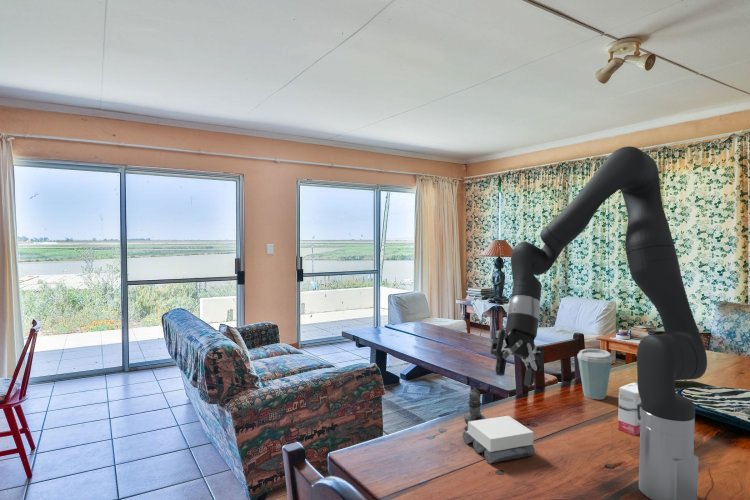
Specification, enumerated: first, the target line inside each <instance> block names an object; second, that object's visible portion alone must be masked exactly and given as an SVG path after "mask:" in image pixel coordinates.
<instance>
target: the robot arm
mask: <svg viewBox="0 0 750 500" xmlns="http://www.w3.org/2000/svg"><path fill="white" fill-rule="evenodd" d="M660 183H661V182H660V172H659V168H658V164H657V162H656V161H655V159H654V158H652V157H651V156H650V155H649V154H647V153H646V152H644V151H643V150H641V149H640V148H638V147H635V146H629V145H628V146H624V147H619V148H618V149H616V150H615V151H613V152H612V153H611V154H610V155H608V157H607V158H606V159H605V160H604V162H602V164H601V165H600V166H599V168H598V169H597V171H596V172H595V173H594V174H593V175H592V177H591V178H590V179H589V180H588V181H587V182H586V184H585V185H584V186H583V188H582V189H581V190H580V192H578V194H577V195H576V196H575V198H574V199H572V201H571V202H570V203H569V204H568V205H567V206H566V207H565V208H564V209H563V210H562V211H561V212H560V213H559V214H558V215H557V216H556V217H555V218H554V219H553V220H552V221H550V222H549V223H548V224H547V225H546V226H545V227H544V228H543V229H542V230H541V231H540V234H539V237H540V239H541V241H542V242H543V244H544V245H543V247H541V248H540V247H538V246H536V245H535V244H533V243H531V242H528V241H521V242H518V243H517V244H516V245H515V246H514V248H513V249H512V252H511V256H510V267H511V274H512V280H513V281H512V283H513V286H512V291H511V298H510V303H509V306H508V309H507V315H506V317H507V318H506V324H505V330H503V329H501V330H495V331H494V334H493V339H492V343H491V348H490V354H491V355H494V356H495V359H496V364H495V368H494V369H495V373H496V375H497V376H501V377H504V376H505V372H506V367H507V366H506V365H507V358H508V357H509V356H510V355H512V356H515V357H517V358H519V359H521V361H522V362H523V363H524V366H525V369H526V370H525V373H524V381H523V385H524V386H525V387H526V386H527V387H532V386H533V385H534V382H535V378H536V377H535V376H536V372H537V371H543V369H544V363H545V362H544V360H545V359H544V358H545V347H544V346H543V345H542V346H541V345H540V346H539V345H536V344H535V339H536V338H537V336H538V328H539V321H540V320H539V319H540V311H541V310H540V309H541V307H540V304H541V294H542V283H541V281H540V280H539V279H538V278H537V277H536V276H540V275H543V274H545V273H547V272H548V271H549V270H550V269H551V268H552V267H553V265H554V264H555V262H556V261H557V259H558V257H559V256H560V254H561V253H562V251H563V250H564V249H565V248H566V247H567V246H568V245H569V244H571V242H573V241H574V240H575V239H576V238H578V236H580V234H581V233H582V232H583V231H584V230H586V227H587V226H588V225H589V223H590V222H591V220H592V219H593V217H594V215H595V213H596V212H597V210H599V208H600V207H601V206H602V204H603V203H604V202H606V200H607V199H609V198H610V197H611V196H612V195H614V194H615V193H617V192H618V191H619V190H620V193H621V195H622V197H623V198H622V199H623V202H624V204H625V208H626V213H627V225H626V234H625V242H624V243H625V244H624V247H625V249H624V250H625V255H626V259H627V264H628V265H627V266H628V269H629V272H630V275H631V278H632V280H633V281H634V284H636V286H637V287H638V288H639V289H640V291H641V292H642V293H643V294H644V295H645V297H646V298H647V299H648V300H649V301H650V302H651V304H652V305H653V306H654V307H655V309H656V311H657V313H658V315H659V317H660V319H661V323H662V326H663V330H664V333H663V334H662V333H660V334H648V335H646V336H643V337H642V338H641V339H640V341H639V343H638V347H637V351H636V372H637V375H636V376H637V379H636V380H637V383H638V392H639V395H640V399H641V421H640V434H639V458H638V459H639V460H638V461H639V462H638V489H639V491H640V492H641V493H642V494H643V495H645V497H647V498H649V499H650V500H698V490H699V489H698V487H699V463H700V462H699V461H700V459H699V457H698V455H695V454H694V452H695V450H694V449H695V446H694V445H695V423H696V421H695V420H696V407H695V406H696V405H695V404H694V402H693V401H692V400H690V399H689V398H687V397H685V396H684V395H681V394H678V393H676V381H683V380H684V381H686V380H687V381H688V380H696V379H700V378H701V377H703V376H704V375H705V373H706V371H707V368H708V357H707V351H706V348H705V344H704V342H703V339H702V336H701V334H700V331H699V327H698V326H697V323H696V320H695V317H694V314H693V312H692V309H691V305H690V302H689V298H688V295H687V291H686V288H685V284H684V281H683V276H682V272H681V267H680V263H679V258H678V254H677V250H676V247H675V243H674V239H673V236H672V233H671V229H670V224H669V222H668V218H667V216H666V214H665V213H666V212H665V209H664V207H663V206H664V205H663V201H662V192H661V184H660ZM504 342H505V345H504V346H503V344H504Z"/></svg>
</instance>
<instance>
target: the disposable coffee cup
mask: <svg viewBox="0 0 750 500" xmlns="http://www.w3.org/2000/svg"><path fill="white" fill-rule="evenodd" d="M577 360H578V368H579V373H580V379H581V380H580V381H581V384H582V385H581V386H582V392H583V394H584V396H585V397H586V398H588V399H592V400H604V399H605V398H606V397H607V393H608V392H607V391H608V386H609V380H610V375H611V368H612V362H613V356H612V355H611V352H609V351H608V350H604V349H600V348H584V349H581V350H579V351H578V353H577Z"/></svg>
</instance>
